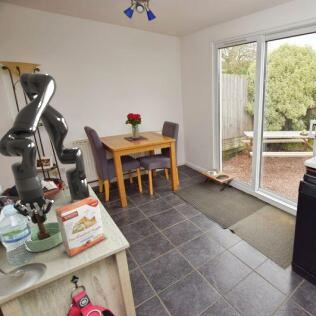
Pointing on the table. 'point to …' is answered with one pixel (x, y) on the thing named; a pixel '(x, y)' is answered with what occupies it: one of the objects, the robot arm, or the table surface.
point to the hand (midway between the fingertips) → (40, 222)
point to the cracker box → (80, 225)
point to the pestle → (41, 228)
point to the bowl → (46, 243)
